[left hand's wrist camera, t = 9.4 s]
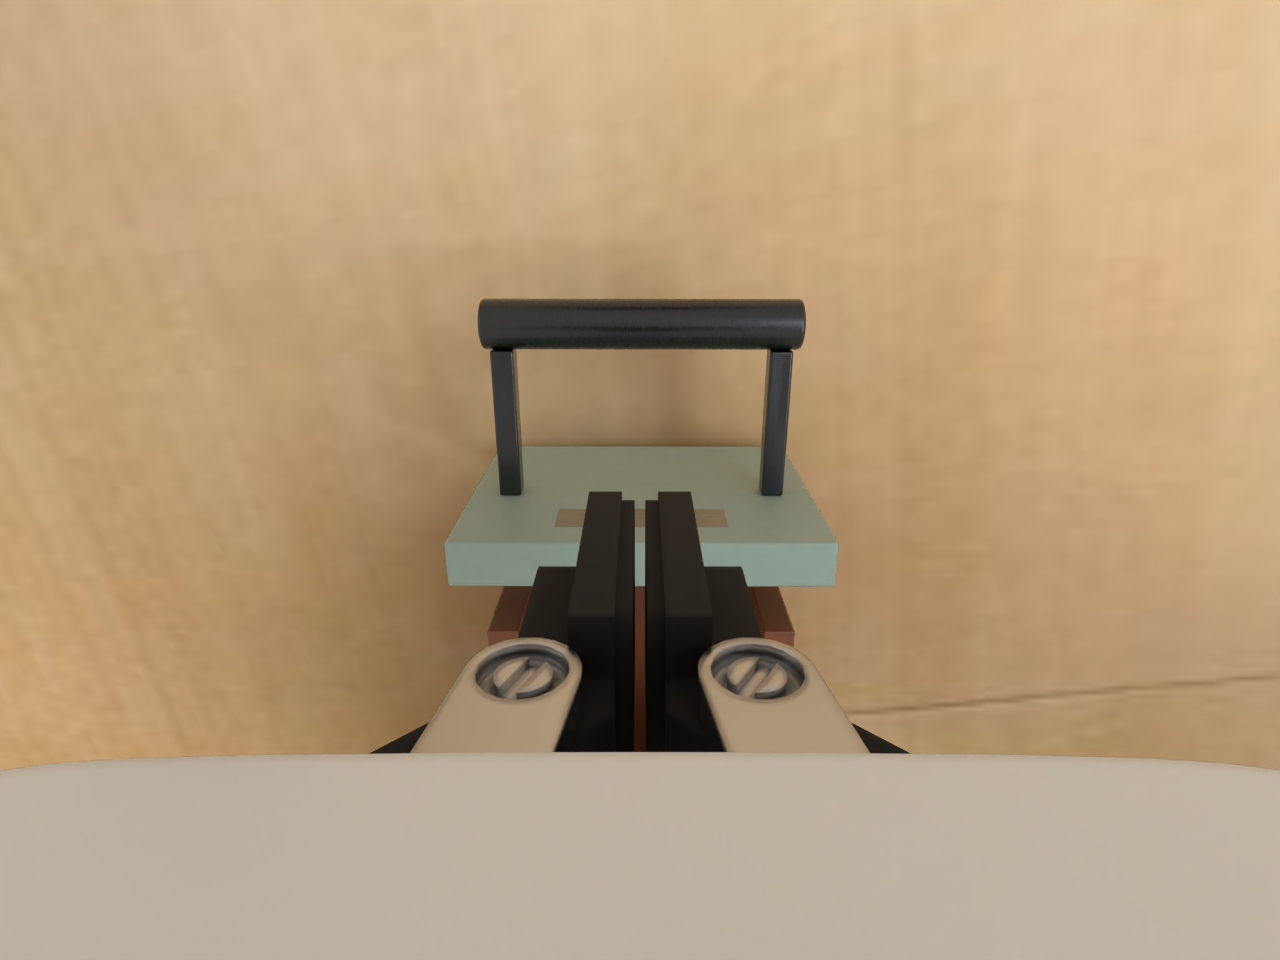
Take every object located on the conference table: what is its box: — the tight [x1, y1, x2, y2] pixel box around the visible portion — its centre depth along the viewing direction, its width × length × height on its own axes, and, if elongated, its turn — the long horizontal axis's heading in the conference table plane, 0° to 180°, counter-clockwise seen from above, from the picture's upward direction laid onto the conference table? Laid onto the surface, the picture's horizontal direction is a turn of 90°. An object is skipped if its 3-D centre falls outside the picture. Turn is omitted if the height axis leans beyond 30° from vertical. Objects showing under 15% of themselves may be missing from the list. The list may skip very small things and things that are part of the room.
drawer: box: [444, 299, 839, 752], centre depth 23 cm, size 23×10×8 cm, turn 0°
